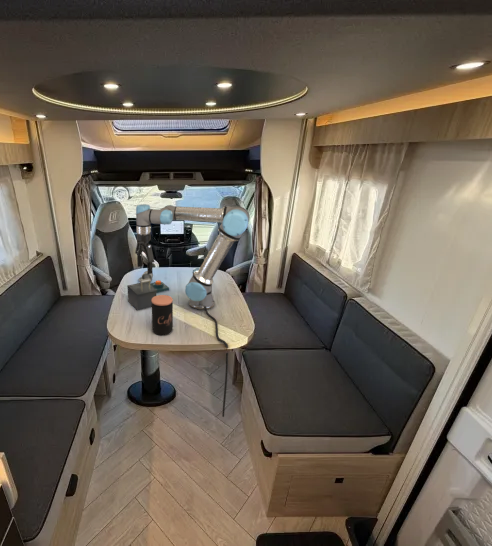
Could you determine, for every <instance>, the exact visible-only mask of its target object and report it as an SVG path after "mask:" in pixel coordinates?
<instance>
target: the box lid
mask: <svg viewBox="0 0 492 546" xmlns="http://www.w3.org/2000/svg"><path fill="white" fill-rule="evenodd" d="M150 281H151V279H150V278H148V279H143V280H140V282H138V283H133V284H128V285H127V286H126V288H127V287H128V288H129V289H130V290H132V291H133V292H134V293H135V294H136V295H137V296H140V295H144V294H149V293H153V292H157V290H156V289H155V288H153V287H152V286H151V285H150V284H151V282H152V281H151V282H150ZM147 282H149V283H147Z"/></svg>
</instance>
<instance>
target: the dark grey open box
mask: <svg viewBox="0 0 492 546" xmlns="http://www.w3.org/2000/svg"><path fill="white" fill-rule="evenodd" d="M126 288H127V302H128V303H130V304H129V305H131V306H132V307H133V308H134V309H135V310H136V311H142V310H147V309H150V308H152V298H153V297H155V296H158V295H157V294H158V293H156V292H153V293H149V294H144V295H140V296H137V295H136V294H135V293H134V292H133V291H132V290H130V289H129V288H128V287H127V286H126Z"/></svg>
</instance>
